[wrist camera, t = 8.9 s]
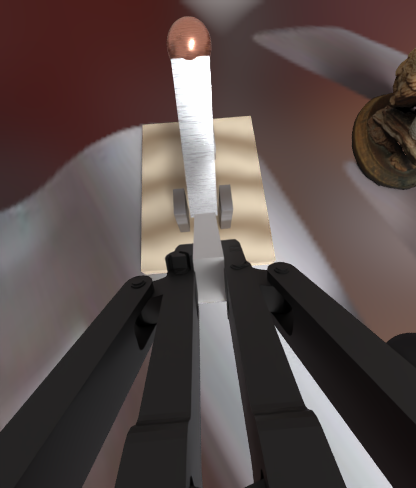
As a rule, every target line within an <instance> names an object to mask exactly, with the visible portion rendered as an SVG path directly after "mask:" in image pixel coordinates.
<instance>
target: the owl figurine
mask: <svg viewBox="0 0 416 488" xmlns="http://www.w3.org/2000/svg"><path fill="white" fill-rule="evenodd" d="M396 76H397V77H396V79H395V81H394V85H393V93H390V94H387V95H381V96H378V97H376V98H373V99H372V100H371V101H369V102H368V103H367V104H366V105H365V106H364V107H363V108H362V110H361V111H360V112H359V114H358V115H357V118H356V120H355V122H354V126H353V132H352V149H353V153H354V156H355V159H356V161H357V164H358V165H359V167H360V169H361V170H362V171H363V173H364V174H365V175H366V176H367V178H369V179H370V180H373V181H375V183H376V184H378V185H379V186H380V185H382V186H385V187H389V188H394V189H402V190H404V189H410V188H412V187H415V186H416V114H412V113H411V112H407V113H406V114H404V113H402V111H403V110H402V111H399V110H396V109H398V107H402V108H403V107H410V108H413V107H416V47H415V49H414V50H413V51H411V53H409V55H408V58H407V59H406V60H405V61H404V62H402V63H401V64H400V66H399V67H398V68H397V70H396ZM409 111H410V110H409ZM415 112H416V109H415ZM398 142H399V144H400V145H399V144H398ZM402 148H403V149H402ZM403 150H404V152H403ZM405 154H406V155H405Z"/></svg>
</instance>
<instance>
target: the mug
mask: <svg viewBox="0 0 416 488" xmlns="http://www.w3.org/2000/svg"><path fill="white" fill-rule="evenodd" d="M386 344H388V345H389V346H390V347H391V348H392V349H394V350H395V351H396V352H397V353H398V354H400V355H401V356H402V357H403V358H404V359H406V360H407V361H408V362H409V363H410V364H412V365H413V366H414V367H415V368H416V333H405V334H400V335H397V336H395V337H393V338H392V339H390V340H389V341H388V342H387V343H386Z"/></svg>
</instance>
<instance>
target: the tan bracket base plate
mask: <svg viewBox="0 0 416 488" xmlns="http://www.w3.org/2000/svg"><path fill="white" fill-rule="evenodd" d="M212 120H213V139H214V158H215V177H216V196H217V214H218V215H216V220H217V225H218V230H219V235H220V240H228V239H236V240H237V241H239V242H240V245H241V247H242V250H243V253H244V255H245V258H246V261H248V262H249V263H250V264H251V266H254V265H266V264H272V263H273V262H274V261H275V260H276V259H275V253H274V248H273V242H272V236H271V230H270V225H269V219H268V213H267V207H266V201H265V196H264V190H263V184H262V178H261V173H260V167H259V161H258V155H257V149H256V144H255V138H254V132H253V127H252V121H251V116H243V117H232V118H221V119H212ZM193 240H194V217H192V218H191V216H190V208H189V200H188V192H187V184H186V176H185V168H184V160H183V152H182V144H181V136H180V128H179V122H172V123H160V124H148V125H143V140H142V231H141V272H143V273H144V274H158V273H167V267H166V262H165V257H166V255H168V254H169V253H171V252H173V251H175V248H176V247H177V246H178V245H181V244H192V243H193Z"/></svg>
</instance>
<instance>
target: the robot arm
mask: <svg viewBox="0 0 416 488" xmlns="http://www.w3.org/2000/svg"><path fill="white" fill-rule="evenodd" d="M165 262H166V267H167V276H166V277H164V278H162V279H159V280H156V281H153V282H152V279H151V278H150V277H149V276H137V277H133V278H131V279H129V280H128V281H127V282H126V283H125V284H124V285H123V286H122V288H121V289H120V290H119V291H118V292H117V294H116V295H115V296H114V297H113V298H112V299H111V301H110V302H109V303H108V304H107V305H106V307H105V308H104V309H103V310H102V311H101V313H100V314H99V315H98V316H97V317H96V319H95V320H94V321H93V322H92V323H91V325H90V326H89V327H88V328H87V329H86V331H85V332H84V333H83V334H82V335H81V337H80V338H79V339H78V340H77V341H76V342H75V344H74V345H73V346H72V347H71V348H70V350H69V351H68V352H67V353H66V354H65V356H64V357H63V358H62V359H61V360H60V362H59V363H58V364H57V365H56V366H55V368H54V369H53V370H52V371H51V372H50V374H49V375H48V376H47V377H46V378H45V380H44V381H43V382H42V383H41V384H40V385H39V387H38V388H37V389H36V390H35V391H34V393H33V394H32V395H31V396H30V397H29V399H28V400H27V401H26V402H25V403H24V405H23V406H22V407H21V408H20V409H19V411H18V412H17V413H16V414H15V415H14V417H13V418H12V419H11V420H10V421H9V423H8V424H7V425H6V426H5V427H4V428H3V430H2V431H1V432H0V488H82V486H83V484H84V482H85V480H86V478H87V476H88V474H89V472H90V470H91V468H92V466H93V464H94V462H95V459H96V457H97V455H98V453H99V451H100V449H101V447H102V445H103V443H104V441H105V439H106V437H107V435H108V433H109V431H110V429H111V427H112V425H113V423H114V421H115V419H116V417H117V415H118V412H119V410H120V408H121V406H122V404H123V402H124V400H125V398H126V396H127V394H128V392H129V390H130V388H131V386H132V384H133V382H134V380H135V378H136V376H137V374H138V372H139V370H140V368H141V366H142V363H143V361H144V359H145V357H146V355H147V353H148V351H149V349H150V347H151V345H152V343H153V347H152V352H151V357H150V362H149V367H148V372H147V377H146V382H145V387H144V392H143V397H142V402H141V407H140V412H139V417H138V420H137V423H136V425H134V426H132V427H131V428H130V430H129V432H128V434H127V437H126V441H125V444H124V448H123V453H122V457H121V462H120V466H119V470H118V475H117V479H116V484H115V488H203V486H202V473H201V415H200V339H199V306H198V304H202V303H213V302H224V301H227V315H228V319H229V323H230V329H231V336H232V342H233V348H234V355H235V361H236V367H237V373H238V380H239V386H240V392H241V399H242V405H243V411H244V417H245V424H246V430H247V436H248V443H249V449H250V455H251V462H252V469H253V479H254V483H253V484H251V485H249V486H247V487H245V488H346V485H345V483H344V480H343V478H342V475H341V473H340V471H339V468H338V466H337V463H336V461H335V458H334V456H333V453H332V451H331V449H330V446H329V444H328V441H327V439H326V436H325V434H324V432H323V429H322V427H321V424H320V422H319V420H318V418H317V416H316V415H315V413H314V412H313V411H312V410H309V409H307V407H306V406H305V404H304V402H303V399H302V397H301V394H300V391H299V389H298V386H297V384H296V381H295V378H294V376H293V373H292V370H291V368H290V365H289V363H288V360H287V357H286V355H285V352H284V350H283V347H282V344H281V342H280V339H279V336H278V334H277V331H276V329H275V327H276V328H277V329H278V331H279V332H280V333H281V335H282V336H283V338H284V339H285V340H286V342H287V343H288V344H289V346H290V347H291V348H292V350H293V351H294V353H295V354H296V355H297V357H298V358H299V359H300V361H301V362H302V364H303V365H304V366H305V368H306V369H307V370H308V372H309V373H310V374H311V376H312V377H313V379H314V380H315V381H316V383H317V384H318V385H319V387H320V388H321V390H322V391H323V392H324V394H325V395H326V396H327V398H328V399H329V400H330V402H331V403H332V405H333V406H334V407H335V409H336V410H337V411H338V413H339V414H340V416H341V417H342V418H343V420H344V421H345V422H346V424H347V425H348V426H349V428H350V429H351V431H352V432H353V433H354V435H355V436H356V437H357V439H358V440H359V442H360V443H361V444H362V446H363V447H364V448H365V450H366V451H367V452H368V454H369V455H370V457H371V458H372V459H373V461H374V462H375V463H376V465H377V466H378V468H379V469H380V470H381V472H382V473H383V474H384V476H385V477H386V478H387V480H388V481H389V483H390V484H391V485H392V487H393V488H416V368H415V367H414V366H413V365H412V364H410V363H409V362H408V361H407V360H406V359H404V358H403V357H402V356H401V355H400V354H398V353H397V352H396V351H395V350H394V349H392V348H391V347H390V346H389V345H388V344H386V343H385V342H384V341H383V340H382V339H380V338H379V337H378V336H377V335H376V334H374V333H373V332H372V331H371V330H370V329H368V328H367V327H366V326H365V325H364V324H362V323H361V322H360V321H359V320H358V319H356V318H355V317H354V316H353V315H352V314H350V313H349V312H348V311H347V310H346V309H344V308H343V307H342V306H341V305H340V304H339V303H337V302H336V301H335V300H334V299H333V298H331V297H330V296H329V295H328V294H327V293H325V292H324V291H323V290H322V289H321V288H319V287H318V286H317V285H316V284H315V283H313V282H312V281H311V280H310V279H309V278H307V277H306V276H305V275H304V274H303V273H301V272H300V271H299V270H298V269H297V268H295V267H294V266H293V265H291V264H288V263H285V262H276V263H272V264H270V265H269V266H268V269H267V270H260V269H256V268H253V267H252V266H251V264H250V263H249V262H248V261H246V258H245V255H244V253H243V250H242V247H241V245H240V242H239V241H237V240H236V239H228V240H220V235H219V230H218V225H217V220H216V215H215V212H214V213H203V214H194V240H193V243H192V244H181V245H178V246H177V247H176V248H175V251H173V252H171V253H169V254H168V255H166V257H165ZM226 299H227V300H226ZM274 325H275V326H274ZM153 341H154V342H153Z"/></svg>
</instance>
